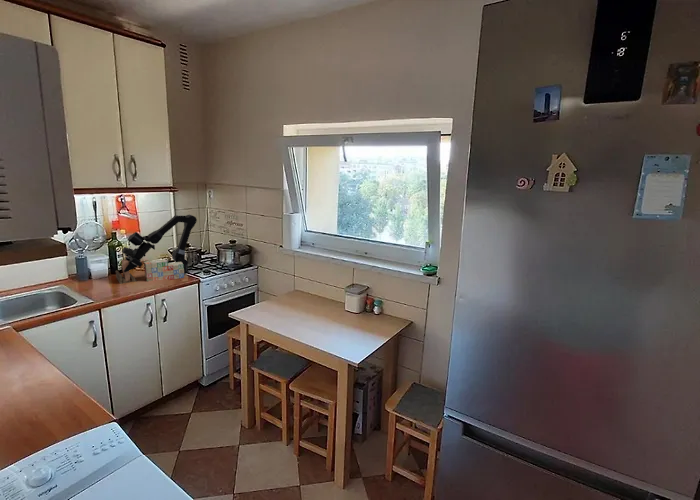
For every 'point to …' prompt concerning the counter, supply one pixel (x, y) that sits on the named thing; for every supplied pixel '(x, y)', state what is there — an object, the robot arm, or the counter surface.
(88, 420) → the counter surface
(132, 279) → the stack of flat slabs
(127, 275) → the beige flat slab
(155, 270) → the stack of blocks
